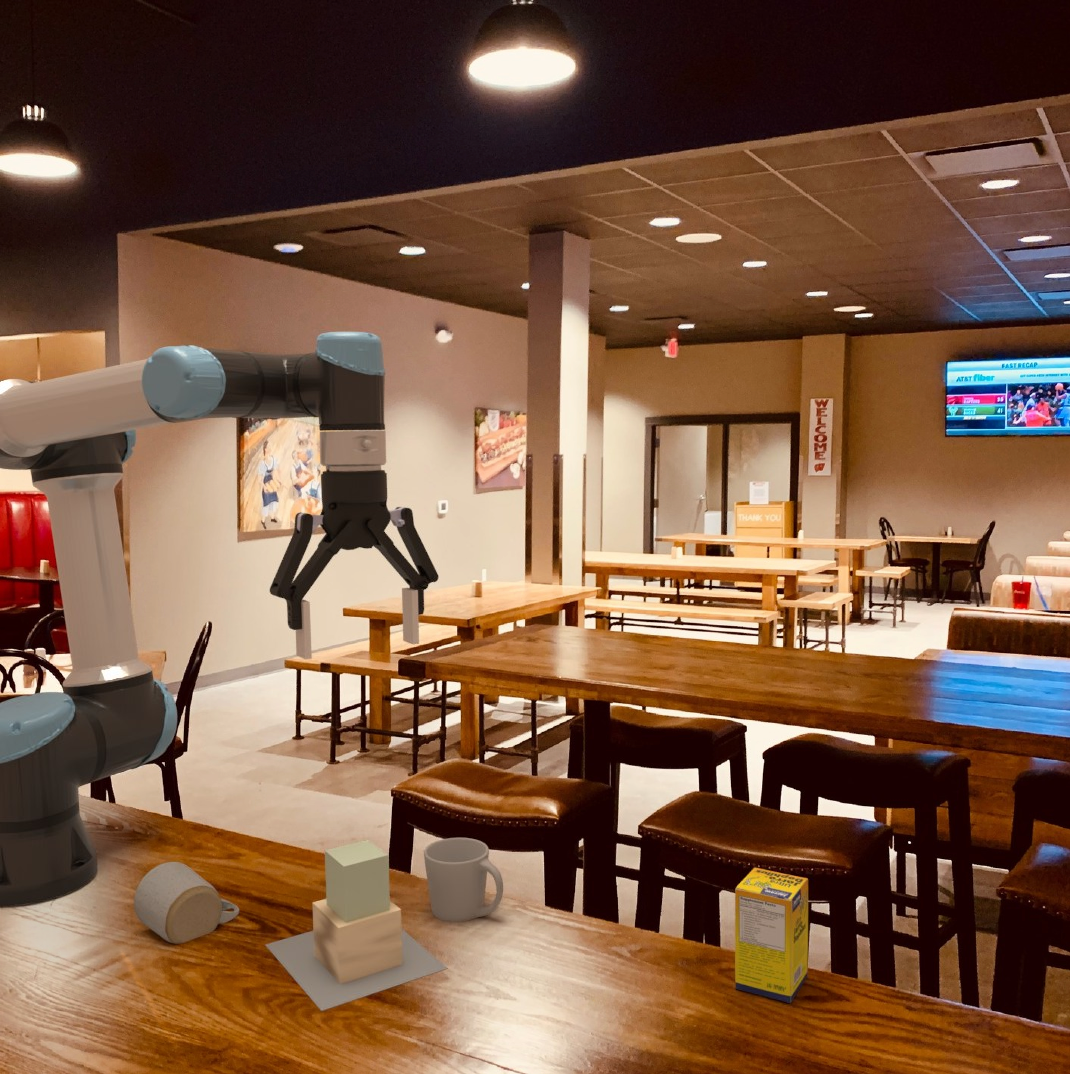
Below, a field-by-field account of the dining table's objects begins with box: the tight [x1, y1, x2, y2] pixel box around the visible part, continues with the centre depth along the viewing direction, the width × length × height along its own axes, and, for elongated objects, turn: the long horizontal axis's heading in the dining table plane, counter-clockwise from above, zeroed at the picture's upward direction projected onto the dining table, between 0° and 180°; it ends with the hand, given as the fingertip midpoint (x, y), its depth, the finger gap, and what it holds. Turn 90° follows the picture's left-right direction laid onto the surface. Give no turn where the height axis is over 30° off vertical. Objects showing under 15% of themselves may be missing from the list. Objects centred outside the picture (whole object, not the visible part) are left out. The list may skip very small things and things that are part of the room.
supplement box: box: [734, 867, 809, 1004], centre depth 107 cm, size 6×6×11 cm
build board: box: [265, 927, 449, 1012], centre depth 112 cm, size 16×14×1 cm
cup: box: [423, 837, 504, 923], centre depth 122 cm, size 8×10×8 cm
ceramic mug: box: [133, 861, 240, 945], centre depth 120 cm, size 11×8×8 cm
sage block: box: [324, 839, 391, 923], centre depth 110 cm, size 5×5×6 cm
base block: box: [312, 898, 403, 984], centre depth 111 cm, size 7×7×6 cm
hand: (359, 649), depth 123 cm, fingers open, 13 cm apart
